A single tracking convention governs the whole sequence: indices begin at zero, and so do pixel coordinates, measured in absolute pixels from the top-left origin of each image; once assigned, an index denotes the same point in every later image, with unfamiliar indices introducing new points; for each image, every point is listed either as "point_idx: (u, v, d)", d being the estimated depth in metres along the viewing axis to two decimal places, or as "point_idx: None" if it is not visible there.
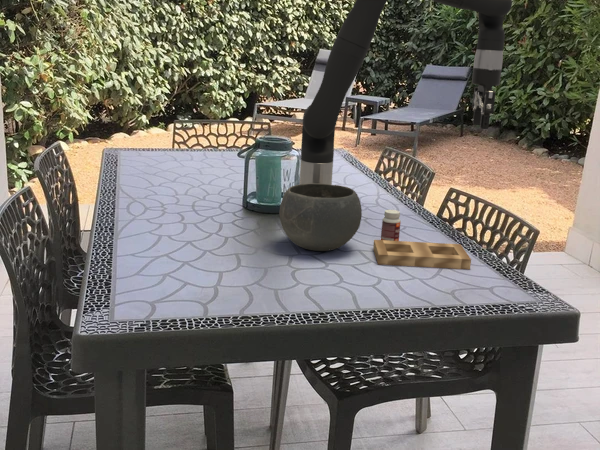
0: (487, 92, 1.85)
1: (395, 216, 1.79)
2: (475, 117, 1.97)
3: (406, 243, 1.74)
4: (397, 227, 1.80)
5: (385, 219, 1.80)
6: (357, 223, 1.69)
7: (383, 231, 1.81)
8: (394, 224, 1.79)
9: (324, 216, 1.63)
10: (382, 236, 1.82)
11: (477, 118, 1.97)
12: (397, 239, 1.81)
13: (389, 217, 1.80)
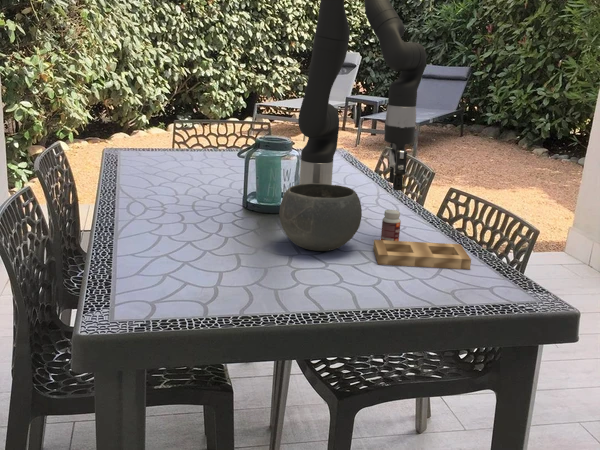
0: (398, 152, 1.70)
1: (395, 216, 1.79)
2: (391, 175, 1.82)
3: (406, 243, 1.74)
4: (397, 227, 1.80)
5: (385, 219, 1.80)
6: (357, 223, 1.69)
7: (383, 231, 1.81)
8: (393, 224, 1.79)
9: (324, 216, 1.63)
10: (382, 236, 1.82)
11: (394, 176, 1.82)
12: (397, 239, 1.81)
13: (389, 217, 1.80)
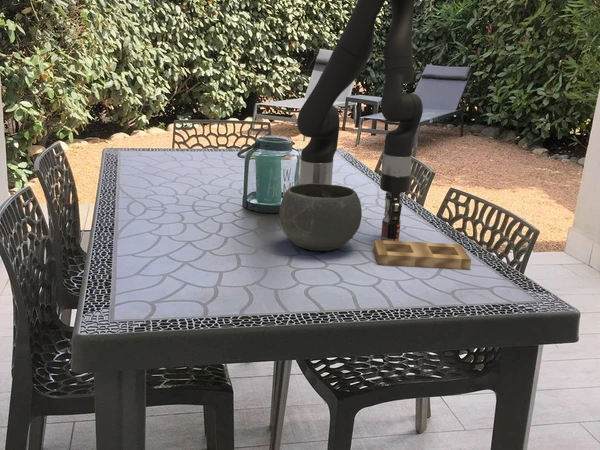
0: (393, 206, 1.74)
1: None
2: None
3: (406, 243, 1.74)
4: (397, 227, 1.80)
5: (385, 219, 1.80)
6: (357, 223, 1.69)
7: (383, 231, 1.81)
8: None
9: (324, 216, 1.63)
10: (382, 236, 1.82)
11: None
12: (397, 239, 1.81)
13: None
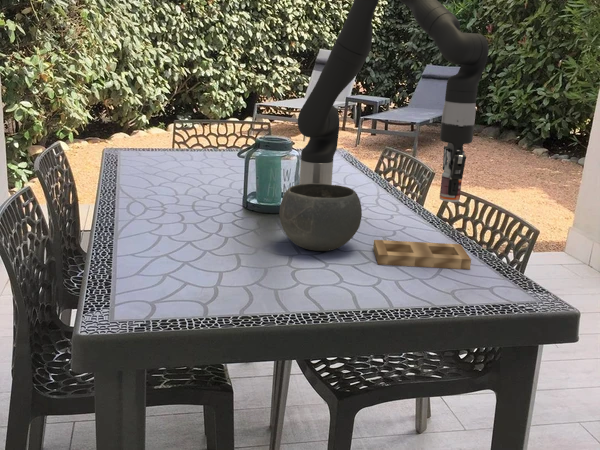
0: (456, 157, 1.57)
1: None
2: None
3: (406, 243, 1.74)
4: (459, 183, 1.64)
5: (445, 174, 1.64)
6: (357, 223, 1.69)
7: (443, 187, 1.65)
8: None
9: (324, 216, 1.63)
10: (442, 193, 1.65)
11: None
12: (458, 196, 1.65)
13: None
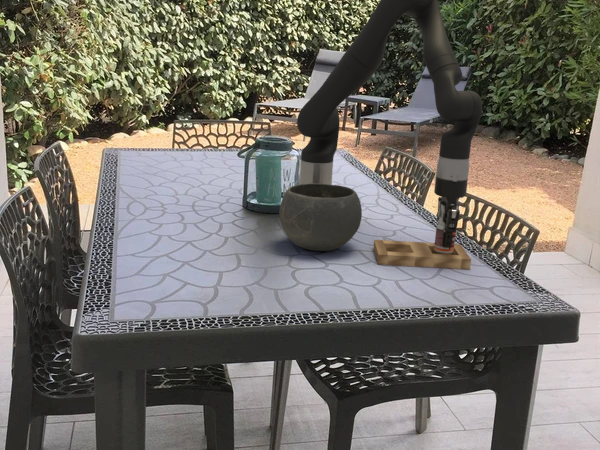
0: (450, 212, 1.61)
1: None
2: None
3: (406, 243, 1.74)
4: (453, 235, 1.67)
5: (440, 226, 1.67)
6: (357, 223, 1.69)
7: (437, 239, 1.68)
8: None
9: (324, 216, 1.63)
10: (436, 244, 1.69)
11: None
12: (452, 248, 1.68)
13: None
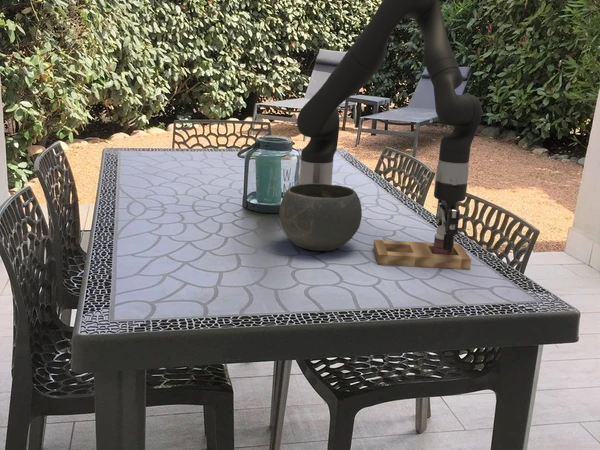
0: (450, 211, 1.60)
1: None
2: None
3: (406, 243, 1.74)
4: None
5: (438, 236, 1.68)
6: (357, 223, 1.69)
7: (436, 248, 1.69)
8: None
9: (324, 216, 1.63)
10: None
11: None
12: None
13: (442, 234, 1.67)
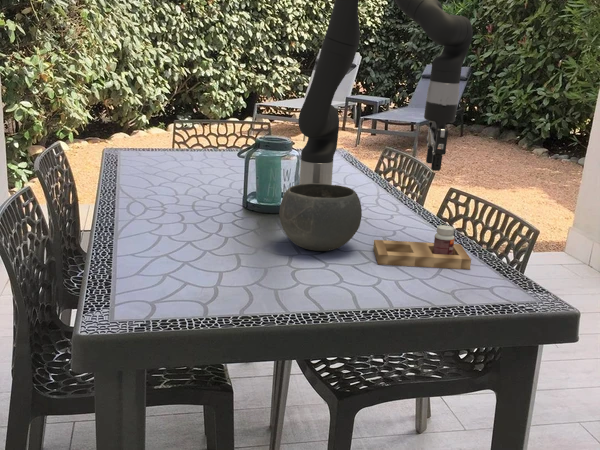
0: (439, 130, 1.63)
1: (449, 232, 1.67)
2: (429, 155, 1.75)
3: (406, 243, 1.74)
4: (451, 245, 1.68)
5: (438, 236, 1.68)
6: (357, 223, 1.69)
7: (436, 248, 1.69)
8: (447, 241, 1.67)
9: (324, 216, 1.63)
10: None
11: (431, 156, 1.75)
12: None
13: (442, 234, 1.67)
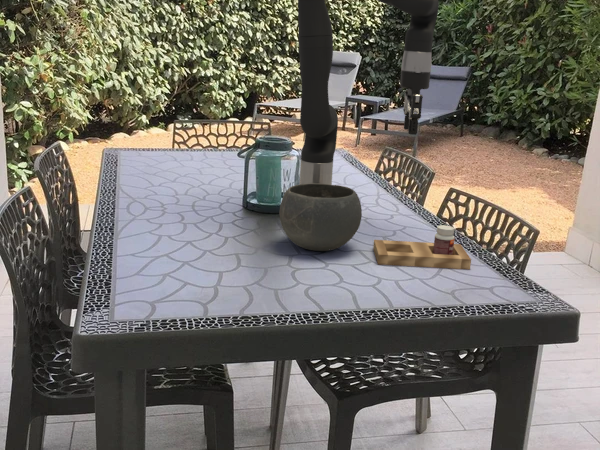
0: (414, 96, 1.75)
1: (449, 233, 1.67)
2: (406, 122, 1.87)
3: (406, 243, 1.74)
4: (451, 245, 1.68)
5: (438, 236, 1.68)
6: (357, 223, 1.69)
7: (436, 248, 1.69)
8: (447, 241, 1.67)
9: (324, 216, 1.63)
10: None
11: (408, 122, 1.88)
12: None
13: (443, 234, 1.67)
